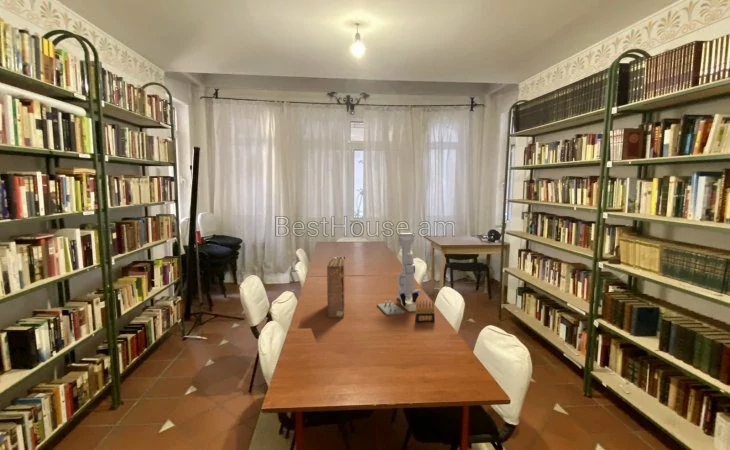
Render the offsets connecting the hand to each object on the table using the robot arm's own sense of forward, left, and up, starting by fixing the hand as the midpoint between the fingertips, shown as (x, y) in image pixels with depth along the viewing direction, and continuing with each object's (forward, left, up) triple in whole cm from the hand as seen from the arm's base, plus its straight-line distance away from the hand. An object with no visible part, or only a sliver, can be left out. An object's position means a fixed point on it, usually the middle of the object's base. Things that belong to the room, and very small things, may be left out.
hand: (408, 305), depth 234 cm
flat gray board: (+1, -12, -1) cm, 13 cm away
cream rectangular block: (0, 0, -2) cm, 2 cm away
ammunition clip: (+25, -1, -2) cm, 25 cm away
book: (-7, -44, -2) cm, 45 cm away
